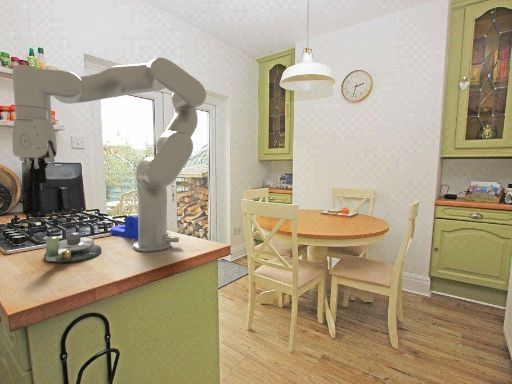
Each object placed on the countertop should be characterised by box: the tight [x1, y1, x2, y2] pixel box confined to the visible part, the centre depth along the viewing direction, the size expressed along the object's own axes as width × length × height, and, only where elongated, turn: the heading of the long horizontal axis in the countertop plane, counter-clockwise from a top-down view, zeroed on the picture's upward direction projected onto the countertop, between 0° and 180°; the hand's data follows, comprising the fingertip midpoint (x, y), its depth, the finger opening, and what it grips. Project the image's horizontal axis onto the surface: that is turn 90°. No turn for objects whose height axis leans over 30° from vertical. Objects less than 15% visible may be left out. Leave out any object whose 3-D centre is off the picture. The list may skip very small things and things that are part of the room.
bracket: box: [110, 214, 138, 241], centre depth 110 cm, size 18×8×9 cm, turn 65°
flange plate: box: [45, 231, 95, 262], centre depth 81 cm, size 18×11×6 cm, turn 8°
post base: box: [43, 244, 102, 264], centre depth 85 cm, size 15×16×4 cm
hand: (38, 182), depth 75 cm, fingers closed
